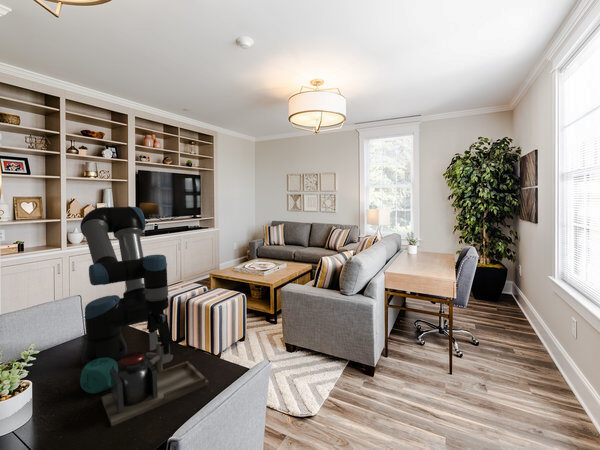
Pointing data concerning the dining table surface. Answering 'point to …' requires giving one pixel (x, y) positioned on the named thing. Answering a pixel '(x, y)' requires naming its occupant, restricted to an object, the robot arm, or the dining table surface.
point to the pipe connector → (157, 357)
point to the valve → (133, 381)
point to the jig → (160, 391)
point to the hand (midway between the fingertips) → (159, 355)
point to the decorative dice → (97, 375)
